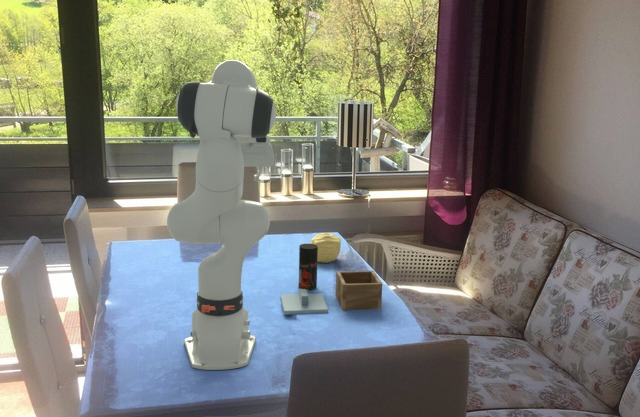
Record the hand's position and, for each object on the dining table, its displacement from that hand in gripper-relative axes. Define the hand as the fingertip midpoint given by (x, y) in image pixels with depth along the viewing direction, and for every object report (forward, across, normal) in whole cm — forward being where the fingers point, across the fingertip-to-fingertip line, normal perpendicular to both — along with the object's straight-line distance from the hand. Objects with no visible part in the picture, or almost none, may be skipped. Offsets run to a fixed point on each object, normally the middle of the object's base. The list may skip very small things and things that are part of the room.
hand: (241, 180), depth 196 cm
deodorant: (+37, +22, +3) cm, 43 cm away
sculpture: (+38, +32, +33) cm, 59 cm away
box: (+37, +36, -11) cm, 53 cm away
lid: (+36, +19, -12) cm, 43 cm away
